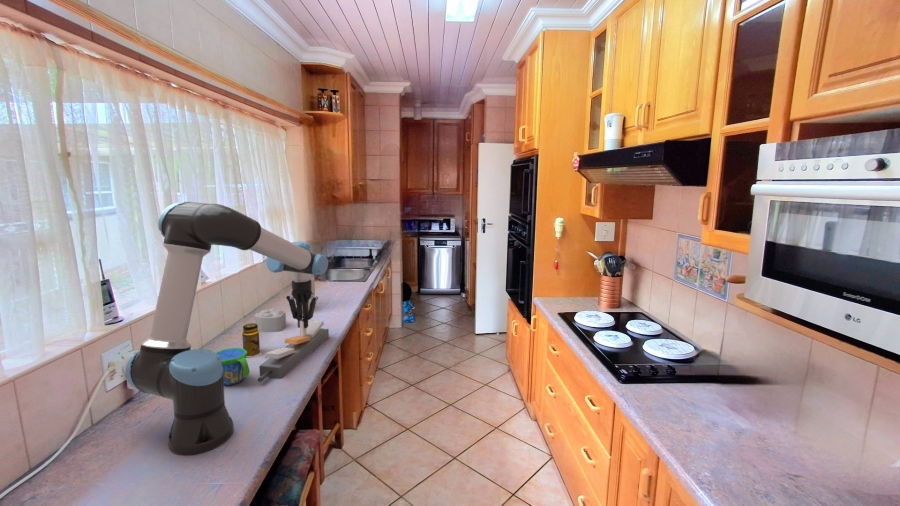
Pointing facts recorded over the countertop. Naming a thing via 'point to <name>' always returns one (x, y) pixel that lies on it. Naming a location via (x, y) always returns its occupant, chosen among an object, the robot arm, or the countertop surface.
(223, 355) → the snack cup
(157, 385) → the robot arm
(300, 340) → the rocker
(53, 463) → the countertop surface
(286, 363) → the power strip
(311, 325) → the white flat slab
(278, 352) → the rocker
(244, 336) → the condiment
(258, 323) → the lumpy-topped squat cylinder
